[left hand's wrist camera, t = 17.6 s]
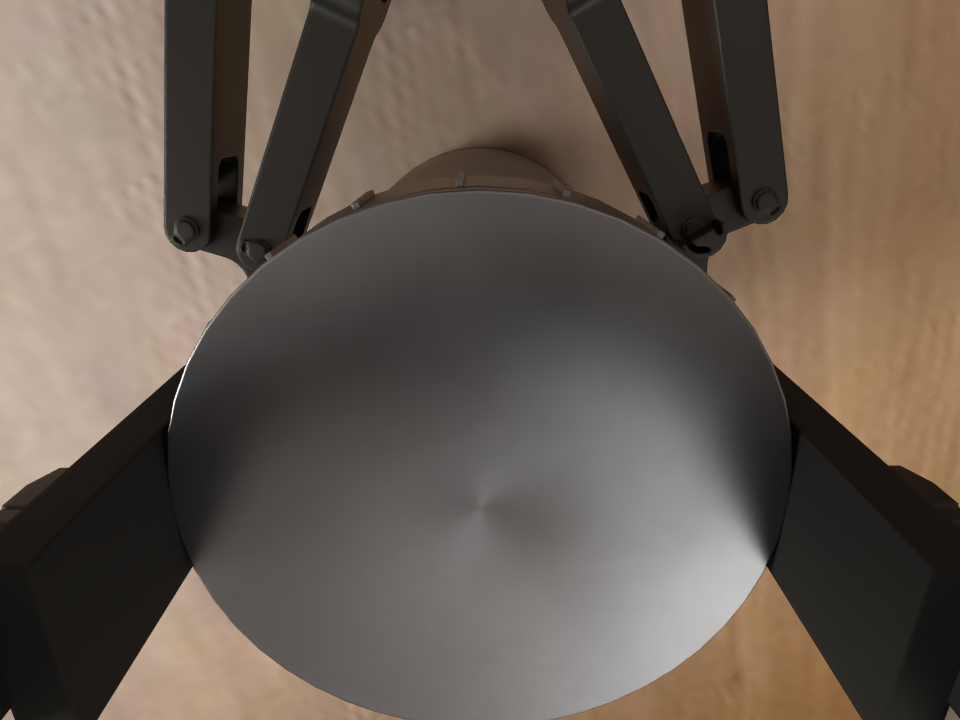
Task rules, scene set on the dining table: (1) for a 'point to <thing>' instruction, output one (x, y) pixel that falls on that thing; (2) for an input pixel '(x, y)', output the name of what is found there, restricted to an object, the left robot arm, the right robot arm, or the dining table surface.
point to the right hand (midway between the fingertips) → (486, 451)
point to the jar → (479, 166)
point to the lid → (479, 453)
